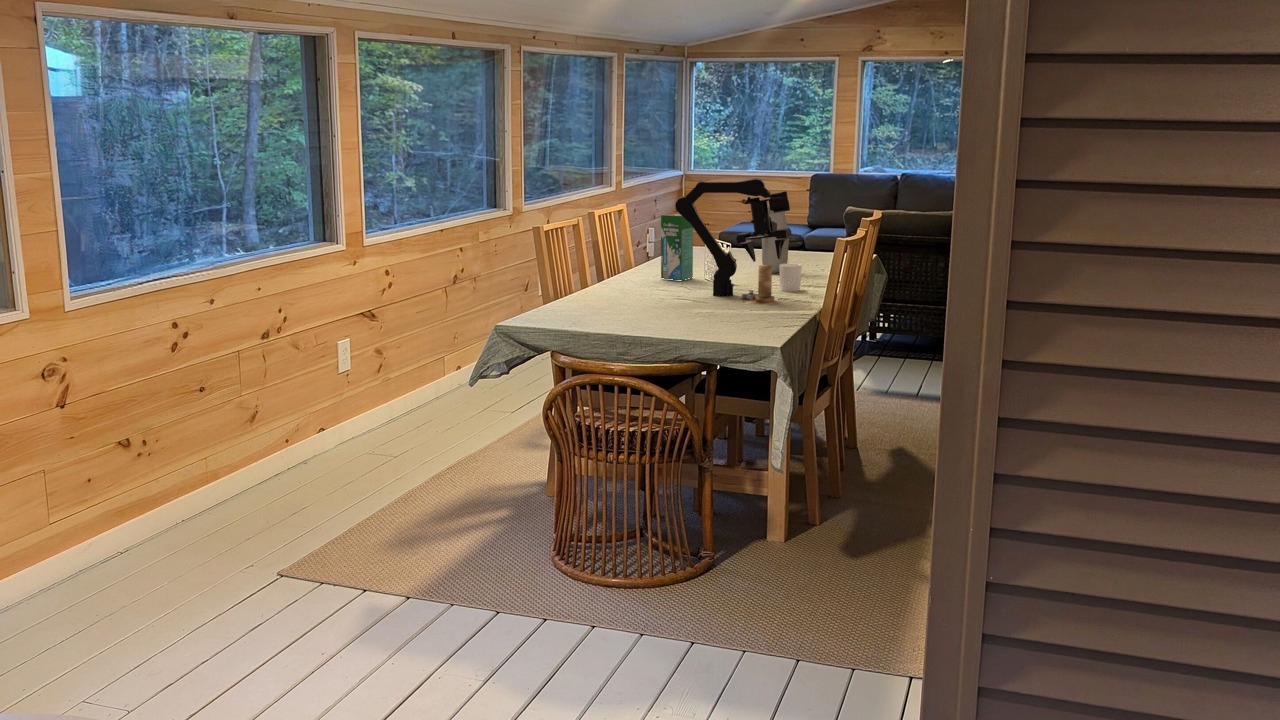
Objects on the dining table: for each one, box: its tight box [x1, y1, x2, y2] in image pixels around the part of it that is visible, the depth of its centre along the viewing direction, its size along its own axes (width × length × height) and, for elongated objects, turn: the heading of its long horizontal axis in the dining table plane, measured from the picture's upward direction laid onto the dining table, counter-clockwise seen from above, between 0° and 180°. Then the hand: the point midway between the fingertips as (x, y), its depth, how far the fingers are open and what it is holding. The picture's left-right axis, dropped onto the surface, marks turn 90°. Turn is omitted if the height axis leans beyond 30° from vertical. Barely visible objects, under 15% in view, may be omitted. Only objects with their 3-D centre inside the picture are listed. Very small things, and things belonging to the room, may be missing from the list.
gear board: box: [741, 296, 780, 305], centre depth 381 cm, size 12×14×1 cm
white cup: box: [779, 262, 803, 293], centre depth 401 cm, size 8×8×10 cm
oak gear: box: [755, 264, 775, 303], centre depth 377 cm, size 6×6×12 cm
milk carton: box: [660, 213, 694, 281], centre depth 432 cm, size 9×9×25 cm
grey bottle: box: [761, 204, 790, 274], centre depth 446 cm, size 10×10×28 cm
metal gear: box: [741, 289, 758, 300], centre depth 383 cm, size 6×7×3 cm
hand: (766, 260), depth 388 cm, fingers open, 9 cm apart
